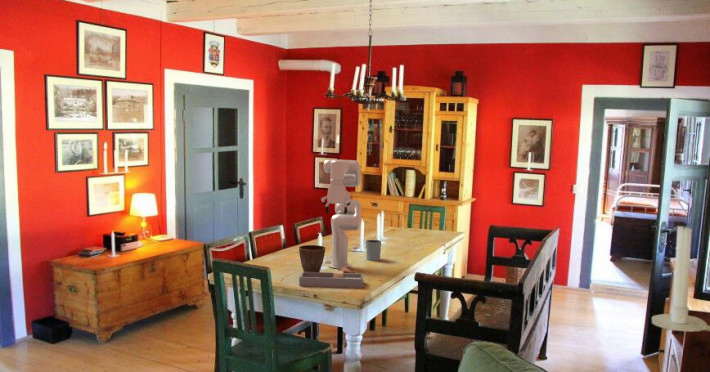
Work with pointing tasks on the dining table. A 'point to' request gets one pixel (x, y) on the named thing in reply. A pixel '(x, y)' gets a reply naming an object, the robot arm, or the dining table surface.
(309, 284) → the eyeshadow palette tray
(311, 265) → the plant pot
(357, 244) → the dining table surface
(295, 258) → the dining table surface
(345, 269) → the sunglasses case
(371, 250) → the grey tapered cup
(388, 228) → the dining table surface
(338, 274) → the maple block
